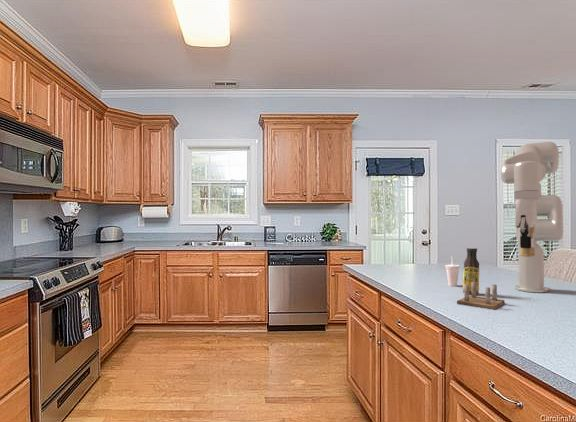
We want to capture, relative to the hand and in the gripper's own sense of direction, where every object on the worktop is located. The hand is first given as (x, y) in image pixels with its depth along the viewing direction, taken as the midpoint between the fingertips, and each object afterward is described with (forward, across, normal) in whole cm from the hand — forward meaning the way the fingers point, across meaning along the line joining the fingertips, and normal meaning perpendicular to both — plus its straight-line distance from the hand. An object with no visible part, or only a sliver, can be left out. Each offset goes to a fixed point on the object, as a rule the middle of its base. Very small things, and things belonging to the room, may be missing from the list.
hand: (527, 246), depth 136 cm
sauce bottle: (+23, -16, -25) cm, 37 cm away
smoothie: (+23, -28, -38) cm, 53 cm away
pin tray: (+23, 0, -16) cm, 28 cm away
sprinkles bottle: (+4, 0, 0) cm, 4 cm away
